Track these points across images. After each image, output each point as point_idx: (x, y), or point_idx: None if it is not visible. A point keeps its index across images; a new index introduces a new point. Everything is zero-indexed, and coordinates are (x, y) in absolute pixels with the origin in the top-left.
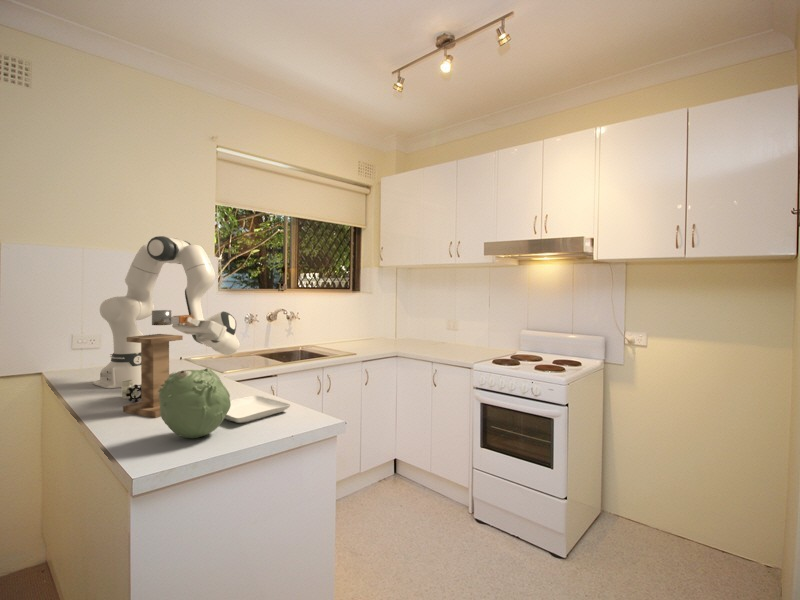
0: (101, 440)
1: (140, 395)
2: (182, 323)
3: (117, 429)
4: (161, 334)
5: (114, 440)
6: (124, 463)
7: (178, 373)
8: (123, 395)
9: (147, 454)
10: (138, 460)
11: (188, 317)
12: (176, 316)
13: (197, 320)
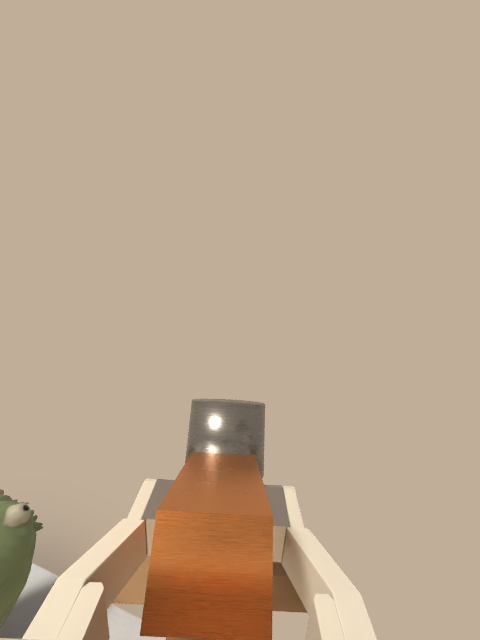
0: (139, 618)
1: None
2: (308, 633)
3: None
4: (275, 564)
5: (114, 626)
6: (46, 573)
7: (4, 495)
8: None
9: (17, 602)
10: (27, 584)
11: (147, 481)
12: (224, 457)
13: (63, 575)
